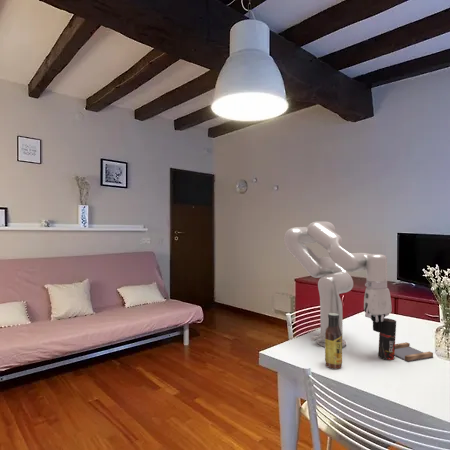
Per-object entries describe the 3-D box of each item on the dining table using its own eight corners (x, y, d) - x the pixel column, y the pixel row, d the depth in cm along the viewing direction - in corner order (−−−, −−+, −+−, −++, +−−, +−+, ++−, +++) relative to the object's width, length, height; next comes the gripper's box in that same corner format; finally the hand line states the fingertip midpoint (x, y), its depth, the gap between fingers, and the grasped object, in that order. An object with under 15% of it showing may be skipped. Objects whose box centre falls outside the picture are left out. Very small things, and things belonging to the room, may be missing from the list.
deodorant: (387, 360, 136) (389, 322, 136) (374, 355, 141) (376, 318, 141) (397, 358, 139) (399, 321, 139) (384, 353, 144) (386, 317, 144)
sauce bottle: (340, 371, 128) (339, 317, 128) (323, 367, 131) (322, 315, 131) (344, 364, 133) (343, 313, 133) (327, 361, 137) (327, 311, 136)
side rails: (407, 362, 135) (407, 357, 135) (383, 350, 148) (382, 345, 148) (433, 357, 139) (433, 352, 139) (406, 346, 152) (406, 342, 152)
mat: (407, 362, 135) (407, 360, 135) (383, 350, 148) (383, 349, 148) (433, 357, 139) (433, 356, 139) (406, 346, 152) (406, 345, 152)
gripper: (367, 288, 133) (368, 335, 132) (399, 285, 137) (399, 331, 137) (354, 284, 140) (355, 330, 140) (385, 282, 144) (385, 326, 144)
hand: (377, 331), depth 138 cm, fingers closed
